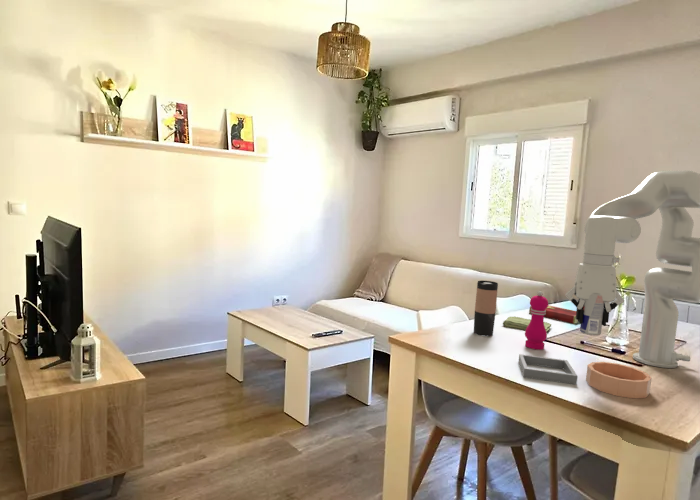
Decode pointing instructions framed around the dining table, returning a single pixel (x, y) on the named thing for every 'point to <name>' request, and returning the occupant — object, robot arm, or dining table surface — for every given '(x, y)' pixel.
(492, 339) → the dining table surface
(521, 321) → the washcloth
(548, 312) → the hardcover book
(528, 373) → the parts tray
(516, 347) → the dining table surface
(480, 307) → the travel mug
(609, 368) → the bowl
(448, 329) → the dining table surface
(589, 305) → the energy drink
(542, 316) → the pepper mill
